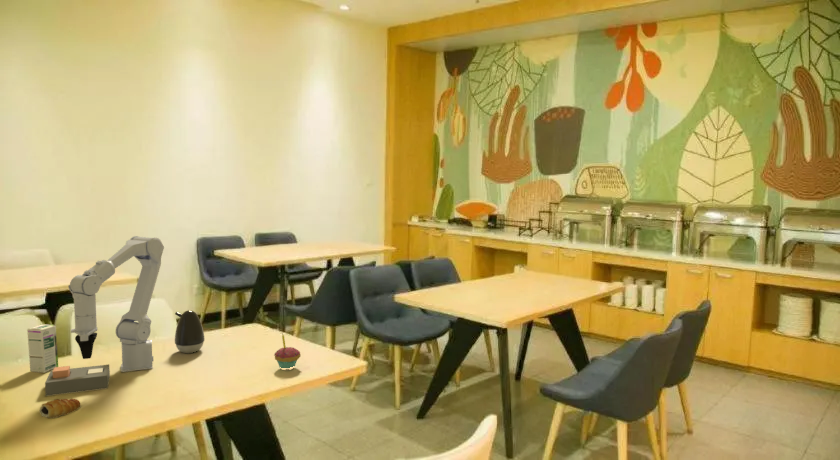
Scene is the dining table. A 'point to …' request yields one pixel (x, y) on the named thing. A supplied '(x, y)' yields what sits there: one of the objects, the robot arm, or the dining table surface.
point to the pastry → (59, 407)
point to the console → (78, 381)
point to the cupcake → (287, 356)
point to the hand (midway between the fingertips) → (87, 358)
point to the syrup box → (42, 348)
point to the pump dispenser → (189, 332)
